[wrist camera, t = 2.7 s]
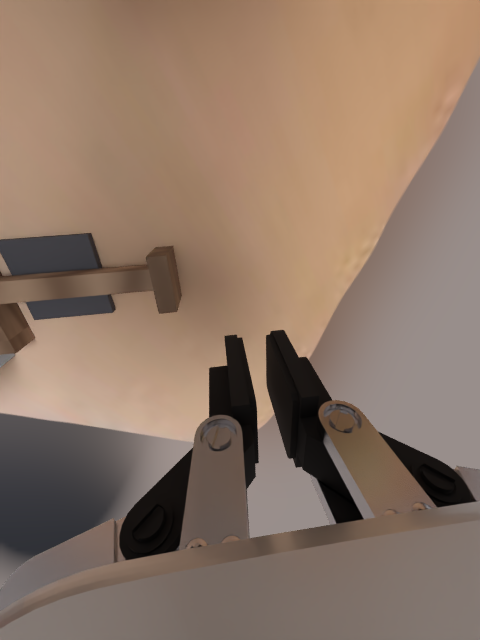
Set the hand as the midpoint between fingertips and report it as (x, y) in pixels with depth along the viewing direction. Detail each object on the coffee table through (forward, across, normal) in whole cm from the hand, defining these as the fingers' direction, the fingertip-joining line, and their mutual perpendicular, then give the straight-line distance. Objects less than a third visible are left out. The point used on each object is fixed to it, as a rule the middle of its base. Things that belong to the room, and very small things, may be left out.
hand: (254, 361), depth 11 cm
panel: (+17, +17, 0) cm, 24 cm away
